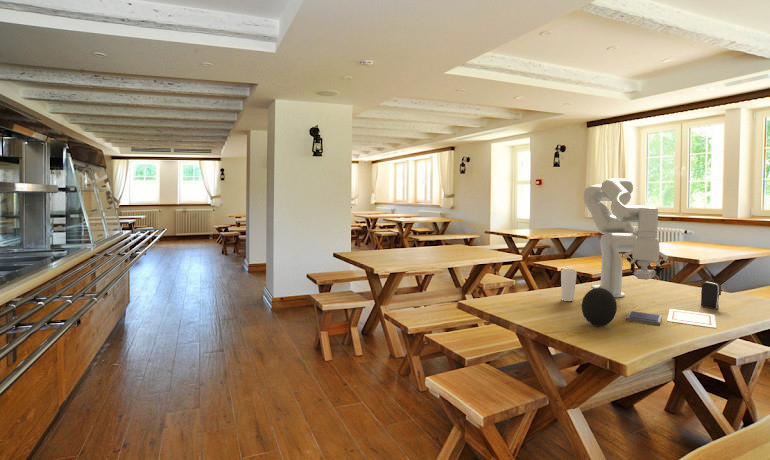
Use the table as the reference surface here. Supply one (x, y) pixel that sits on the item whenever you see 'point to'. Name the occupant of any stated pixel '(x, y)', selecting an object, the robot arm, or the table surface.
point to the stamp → (644, 271)
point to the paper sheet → (692, 318)
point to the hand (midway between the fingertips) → (644, 273)
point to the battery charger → (710, 294)
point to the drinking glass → (568, 284)
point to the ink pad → (644, 317)
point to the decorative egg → (599, 306)
